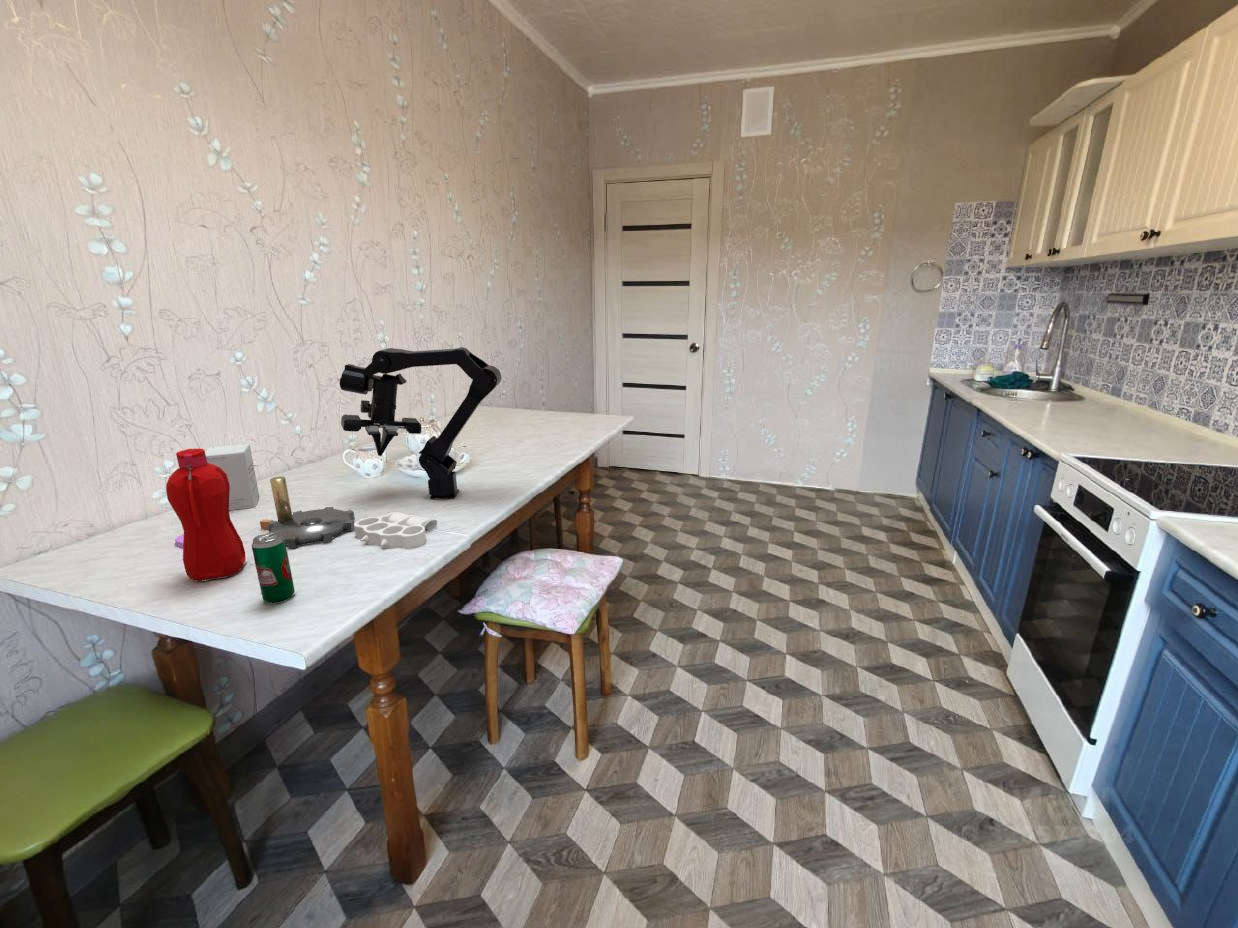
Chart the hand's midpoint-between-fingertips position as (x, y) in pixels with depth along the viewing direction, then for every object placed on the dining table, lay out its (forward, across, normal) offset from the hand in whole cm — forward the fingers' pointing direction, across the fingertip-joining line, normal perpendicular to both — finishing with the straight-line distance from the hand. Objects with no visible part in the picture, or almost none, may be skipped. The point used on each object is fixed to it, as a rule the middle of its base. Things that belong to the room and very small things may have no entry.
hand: (379, 455), depth 150 cm
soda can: (+11, +24, +46) cm, 54 cm away
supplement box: (+19, +31, -12) cm, 38 cm away
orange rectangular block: (+15, +25, +10) cm, 31 cm away
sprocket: (+13, +16, +17) cm, 27 cm away
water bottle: (+15, +34, +30) cm, 48 cm away
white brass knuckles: (+9, +1, +29) cm, 31 cm away
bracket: (+17, +37, +12) cm, 43 cm away
